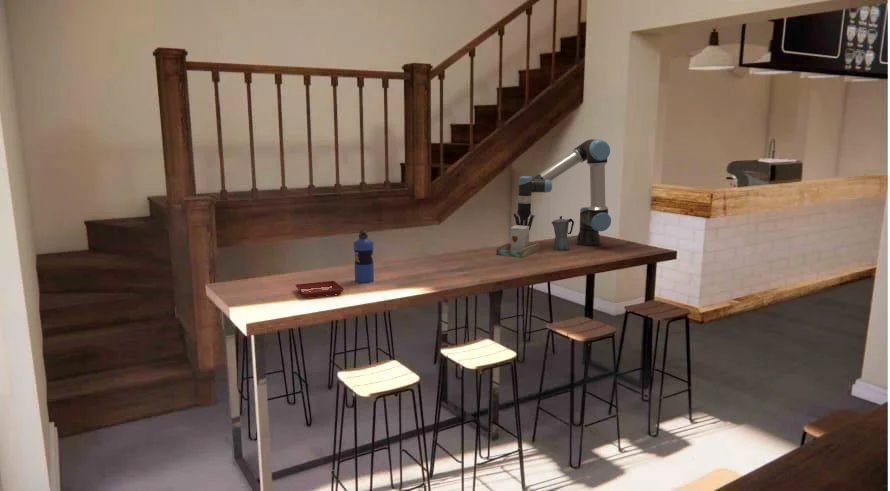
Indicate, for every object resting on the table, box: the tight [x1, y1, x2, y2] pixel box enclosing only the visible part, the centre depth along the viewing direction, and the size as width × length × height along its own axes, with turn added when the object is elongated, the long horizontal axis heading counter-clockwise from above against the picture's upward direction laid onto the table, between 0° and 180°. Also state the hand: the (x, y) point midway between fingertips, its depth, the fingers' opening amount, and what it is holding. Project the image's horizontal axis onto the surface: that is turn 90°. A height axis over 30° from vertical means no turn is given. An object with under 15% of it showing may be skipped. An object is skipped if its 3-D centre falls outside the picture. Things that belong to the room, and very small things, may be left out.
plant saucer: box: [295, 280, 345, 299], centre depth 284 cm, size 18×18×3 cm
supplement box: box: [510, 224, 530, 252], centre depth 372 cm, size 9×9×15 cm
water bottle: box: [353, 229, 375, 284], centre depth 302 cm, size 9×9×25 cm
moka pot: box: [551, 215, 575, 251], centre depth 380 cm, size 10×15×20 cm, turn 115°
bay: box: [496, 241, 541, 258], centre depth 372 cm, size 16×24×4 cm
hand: (523, 242), depth 378 cm, fingers closed
